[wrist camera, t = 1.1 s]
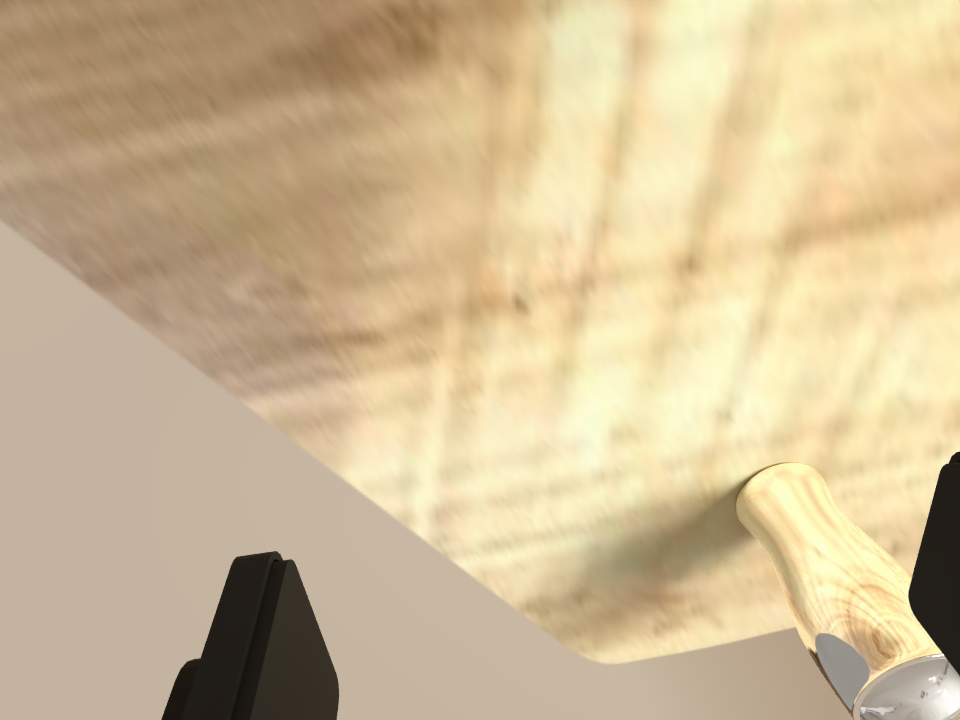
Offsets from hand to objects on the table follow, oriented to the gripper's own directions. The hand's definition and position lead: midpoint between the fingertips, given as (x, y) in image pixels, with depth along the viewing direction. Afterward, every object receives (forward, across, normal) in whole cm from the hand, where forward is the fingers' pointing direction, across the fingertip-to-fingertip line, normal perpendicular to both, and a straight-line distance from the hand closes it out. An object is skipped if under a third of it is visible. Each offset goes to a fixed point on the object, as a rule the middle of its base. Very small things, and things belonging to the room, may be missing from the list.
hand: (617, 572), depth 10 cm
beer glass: (+27, -17, +26) cm, 41 cm away
